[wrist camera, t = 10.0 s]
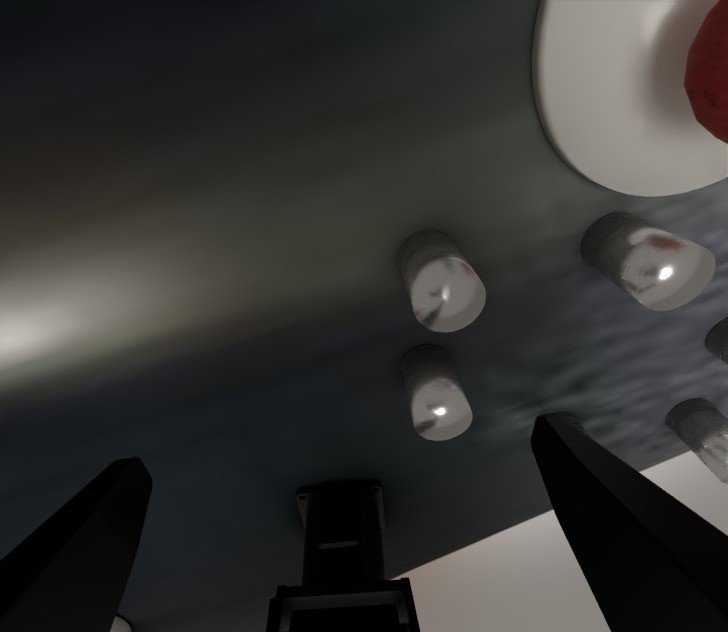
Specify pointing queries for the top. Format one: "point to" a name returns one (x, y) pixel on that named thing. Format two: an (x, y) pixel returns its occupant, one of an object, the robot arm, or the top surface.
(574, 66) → the plate
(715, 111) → the onion
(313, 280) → the top surface
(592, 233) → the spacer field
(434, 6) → the top surface
